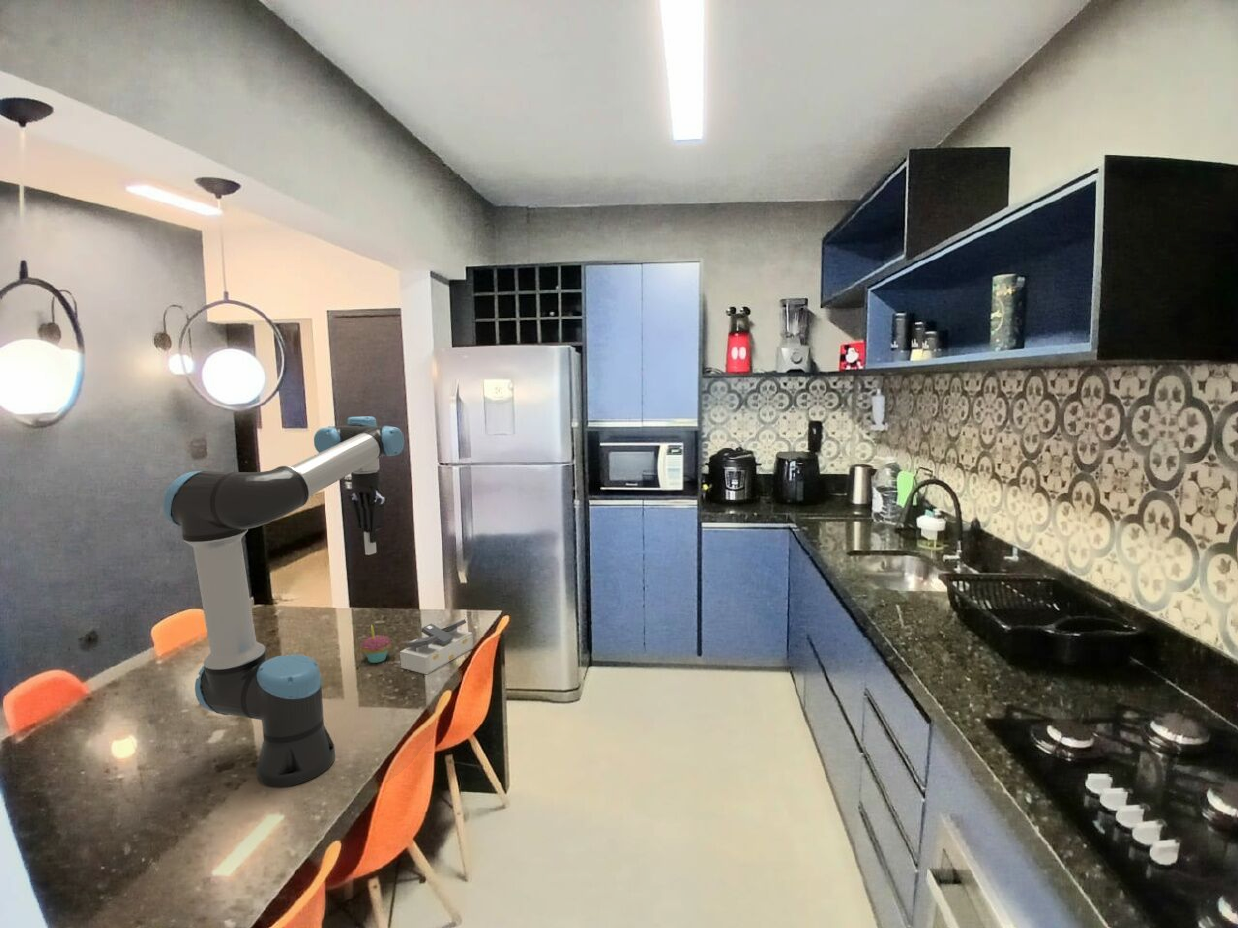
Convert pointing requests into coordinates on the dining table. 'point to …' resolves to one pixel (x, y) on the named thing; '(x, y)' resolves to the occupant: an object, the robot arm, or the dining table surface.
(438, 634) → the block
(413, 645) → the rocker
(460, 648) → the switch unit
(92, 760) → the dining table surface
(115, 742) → the dining table surface
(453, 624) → the rocker
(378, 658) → the cupcake
